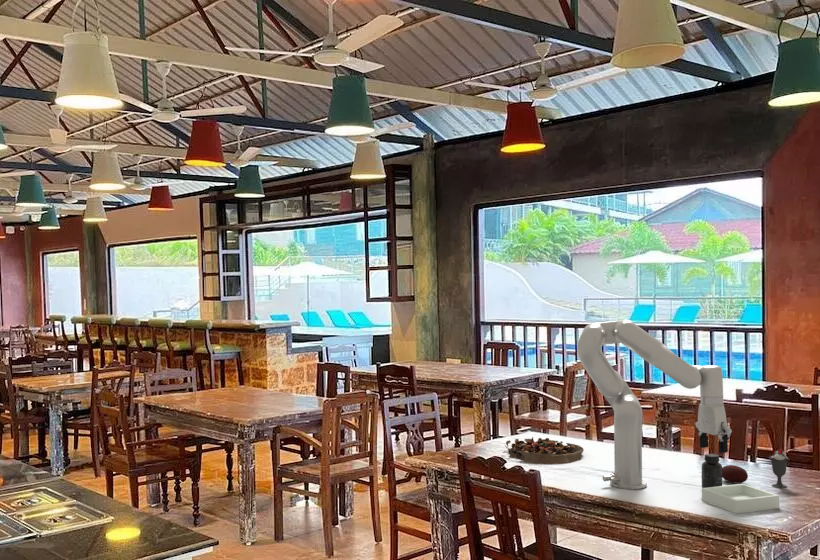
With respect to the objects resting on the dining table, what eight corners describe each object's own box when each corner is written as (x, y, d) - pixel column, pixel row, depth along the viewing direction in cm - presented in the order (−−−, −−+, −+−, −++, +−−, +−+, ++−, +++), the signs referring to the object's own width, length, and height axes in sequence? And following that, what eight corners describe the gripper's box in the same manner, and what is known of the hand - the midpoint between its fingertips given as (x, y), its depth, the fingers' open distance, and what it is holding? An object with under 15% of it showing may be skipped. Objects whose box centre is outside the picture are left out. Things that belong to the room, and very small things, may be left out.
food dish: (505, 448, 353) (505, 430, 353) (580, 451, 348) (580, 433, 349) (503, 463, 318) (503, 444, 319) (587, 467, 314) (587, 447, 314)
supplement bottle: (724, 492, 272) (723, 457, 272) (703, 491, 274) (703, 456, 274) (720, 487, 279) (720, 453, 279) (700, 486, 280) (699, 452, 280)
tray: (736, 513, 248) (736, 500, 248) (701, 500, 263) (701, 488, 263) (779, 508, 253) (779, 495, 253) (743, 495, 268) (743, 483, 268)
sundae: (781, 489, 275) (781, 446, 275) (765, 485, 281) (764, 443, 281) (794, 487, 278) (793, 444, 278) (777, 483, 284) (777, 441, 284)
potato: (728, 478, 292) (728, 461, 292) (753, 484, 283) (752, 467, 283) (715, 481, 288) (715, 464, 288) (740, 487, 279) (740, 469, 279)
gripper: (686, 398, 283) (688, 446, 283) (720, 405, 267) (722, 455, 267) (704, 397, 286) (705, 444, 286) (738, 403, 269) (740, 453, 269)
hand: (713, 449), depth 276 cm, fingers open, 9 cm apart
